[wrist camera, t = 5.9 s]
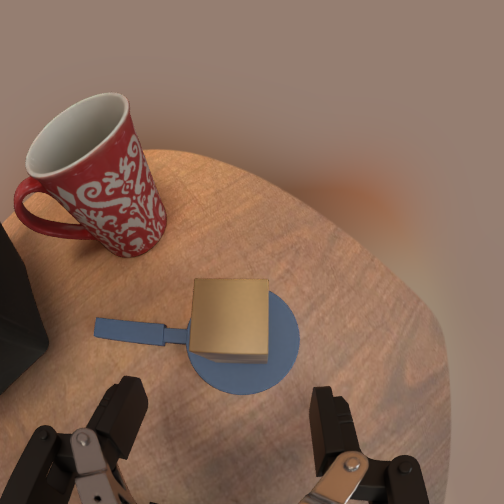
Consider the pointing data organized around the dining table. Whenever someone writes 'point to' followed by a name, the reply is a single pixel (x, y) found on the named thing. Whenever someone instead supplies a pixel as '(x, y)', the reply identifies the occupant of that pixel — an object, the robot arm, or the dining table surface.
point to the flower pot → (17, 317)
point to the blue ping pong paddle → (216, 374)
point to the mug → (95, 178)
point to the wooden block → (230, 320)
